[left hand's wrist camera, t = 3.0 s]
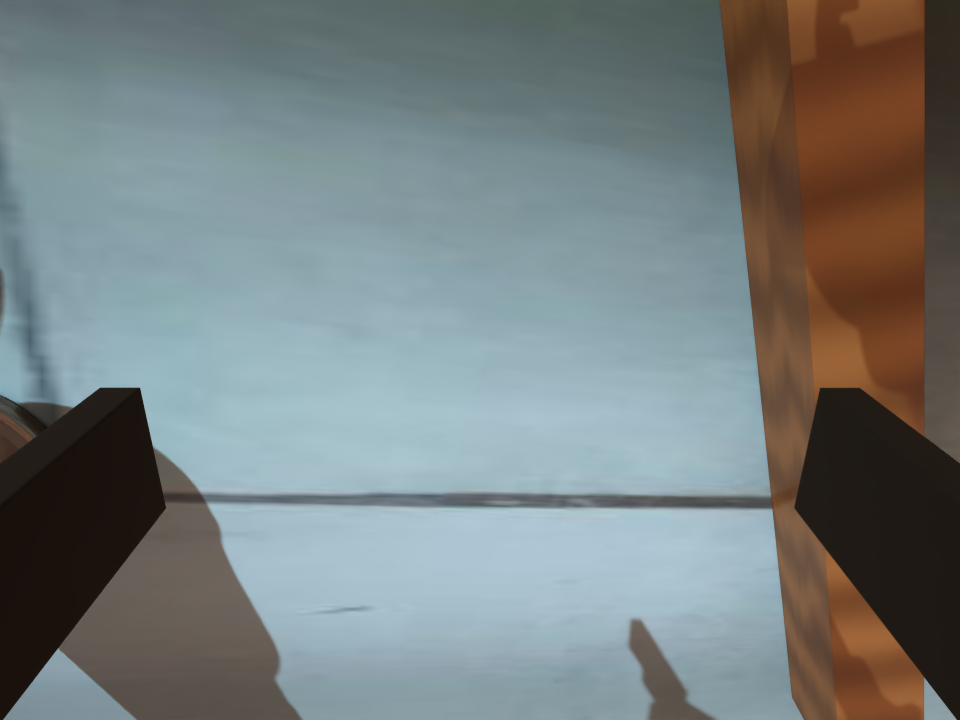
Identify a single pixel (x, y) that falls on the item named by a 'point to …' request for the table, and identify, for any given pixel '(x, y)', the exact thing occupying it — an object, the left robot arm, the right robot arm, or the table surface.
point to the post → (831, 290)
